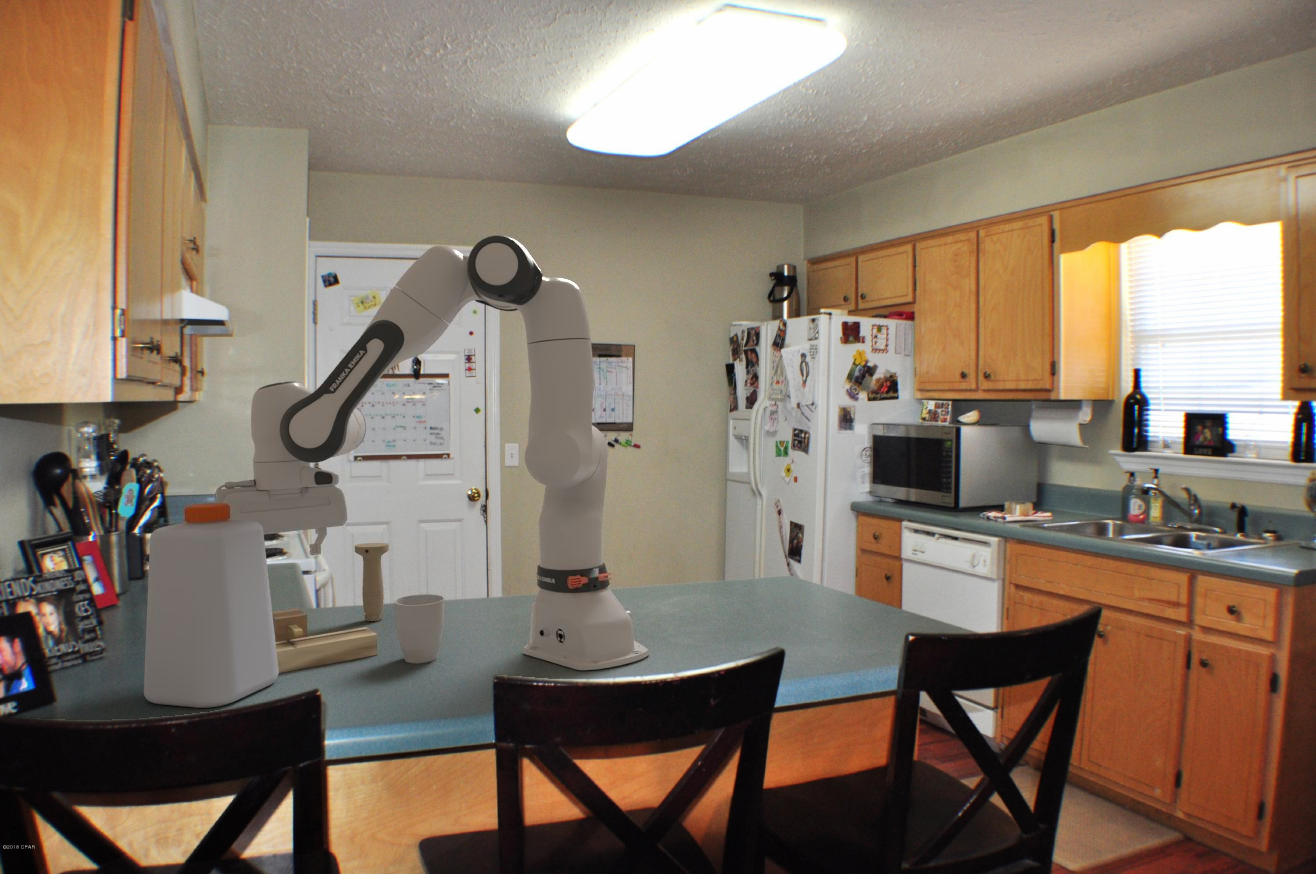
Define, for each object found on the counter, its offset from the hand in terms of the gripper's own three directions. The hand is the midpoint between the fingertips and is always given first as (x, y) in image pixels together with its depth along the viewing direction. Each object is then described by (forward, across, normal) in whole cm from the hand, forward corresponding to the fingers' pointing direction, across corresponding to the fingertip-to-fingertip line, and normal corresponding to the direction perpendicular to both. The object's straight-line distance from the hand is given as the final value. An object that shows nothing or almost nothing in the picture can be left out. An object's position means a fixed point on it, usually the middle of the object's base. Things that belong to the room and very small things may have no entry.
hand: (286, 558), depth 146 cm
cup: (+17, +16, -17) cm, 29 cm away
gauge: (+17, 0, -2) cm, 17 cm away
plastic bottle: (+17, -14, -13) cm, 25 cm away
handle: (+17, +18, +14) cm, 29 cm away
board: (+17, +4, -7) cm, 18 cm away
